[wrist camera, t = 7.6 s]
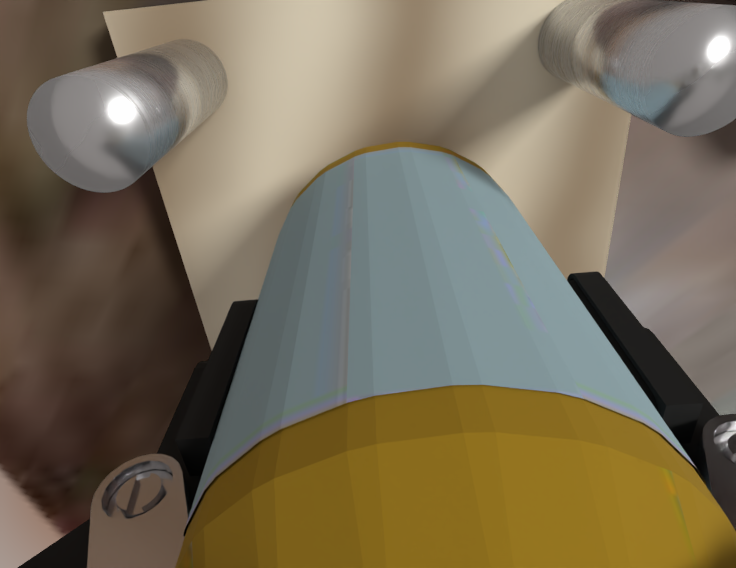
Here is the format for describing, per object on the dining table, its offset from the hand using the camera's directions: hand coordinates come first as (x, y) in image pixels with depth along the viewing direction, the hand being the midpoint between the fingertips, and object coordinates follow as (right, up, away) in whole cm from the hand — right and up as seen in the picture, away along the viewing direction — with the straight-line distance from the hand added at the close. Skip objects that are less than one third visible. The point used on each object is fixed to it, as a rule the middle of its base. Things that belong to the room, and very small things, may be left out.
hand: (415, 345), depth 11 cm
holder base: (0, +4, +6) cm, 7 cm away
